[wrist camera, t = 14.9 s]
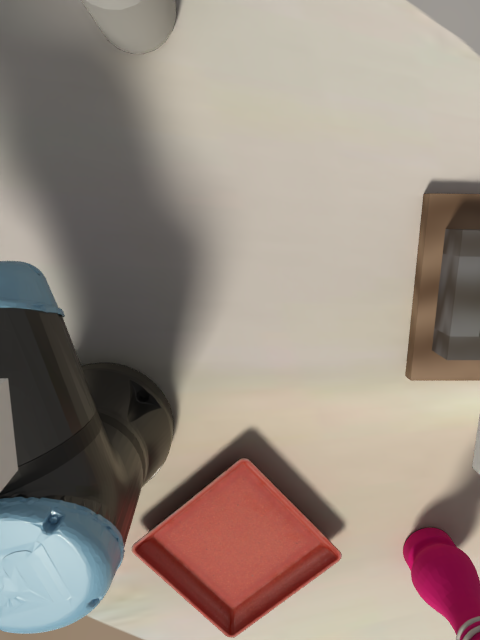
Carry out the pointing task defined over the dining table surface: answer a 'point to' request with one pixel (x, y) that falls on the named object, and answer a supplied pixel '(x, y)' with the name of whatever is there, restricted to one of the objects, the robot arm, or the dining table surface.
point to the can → (134, 22)
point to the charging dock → (428, 286)
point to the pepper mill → (445, 580)
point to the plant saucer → (237, 549)
